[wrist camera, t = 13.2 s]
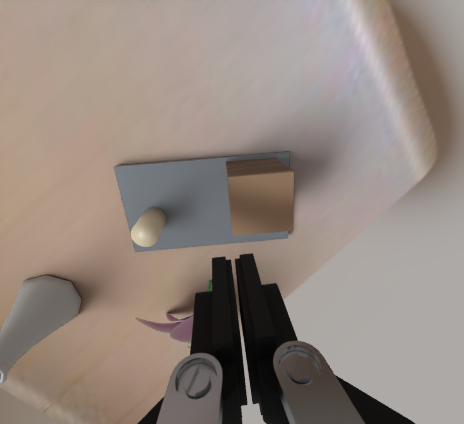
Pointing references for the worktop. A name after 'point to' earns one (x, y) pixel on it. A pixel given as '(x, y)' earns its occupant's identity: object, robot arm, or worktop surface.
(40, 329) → the flask
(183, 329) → the lily
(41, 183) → the worktop surface
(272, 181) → the wooden grain cube
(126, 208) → the slate stand
